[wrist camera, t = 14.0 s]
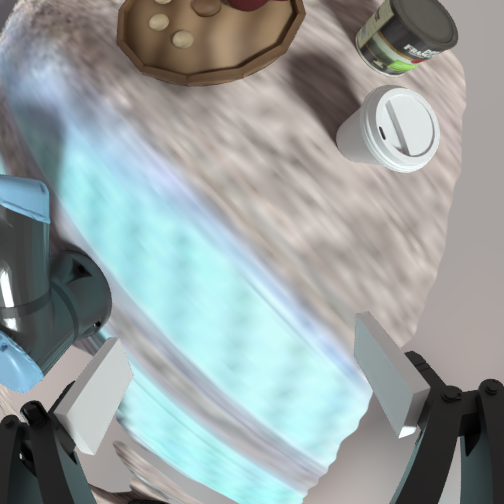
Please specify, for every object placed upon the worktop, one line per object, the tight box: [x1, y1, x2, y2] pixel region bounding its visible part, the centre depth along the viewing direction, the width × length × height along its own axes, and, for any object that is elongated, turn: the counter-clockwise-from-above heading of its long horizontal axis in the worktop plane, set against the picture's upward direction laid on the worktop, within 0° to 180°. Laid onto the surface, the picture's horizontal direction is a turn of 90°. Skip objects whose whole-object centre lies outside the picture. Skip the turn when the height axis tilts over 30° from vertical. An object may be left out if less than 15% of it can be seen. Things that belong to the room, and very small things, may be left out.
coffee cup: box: [336, 85, 440, 173], centre depth 29 cm, size 10×10×15 cm
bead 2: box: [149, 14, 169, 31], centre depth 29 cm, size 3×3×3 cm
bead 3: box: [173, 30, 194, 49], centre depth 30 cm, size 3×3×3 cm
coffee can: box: [355, 0, 458, 77], centre depth 26 cm, size 10×10×14 cm
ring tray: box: [117, 0, 306, 87], centre depth 30 cm, size 28×28×3 cm
